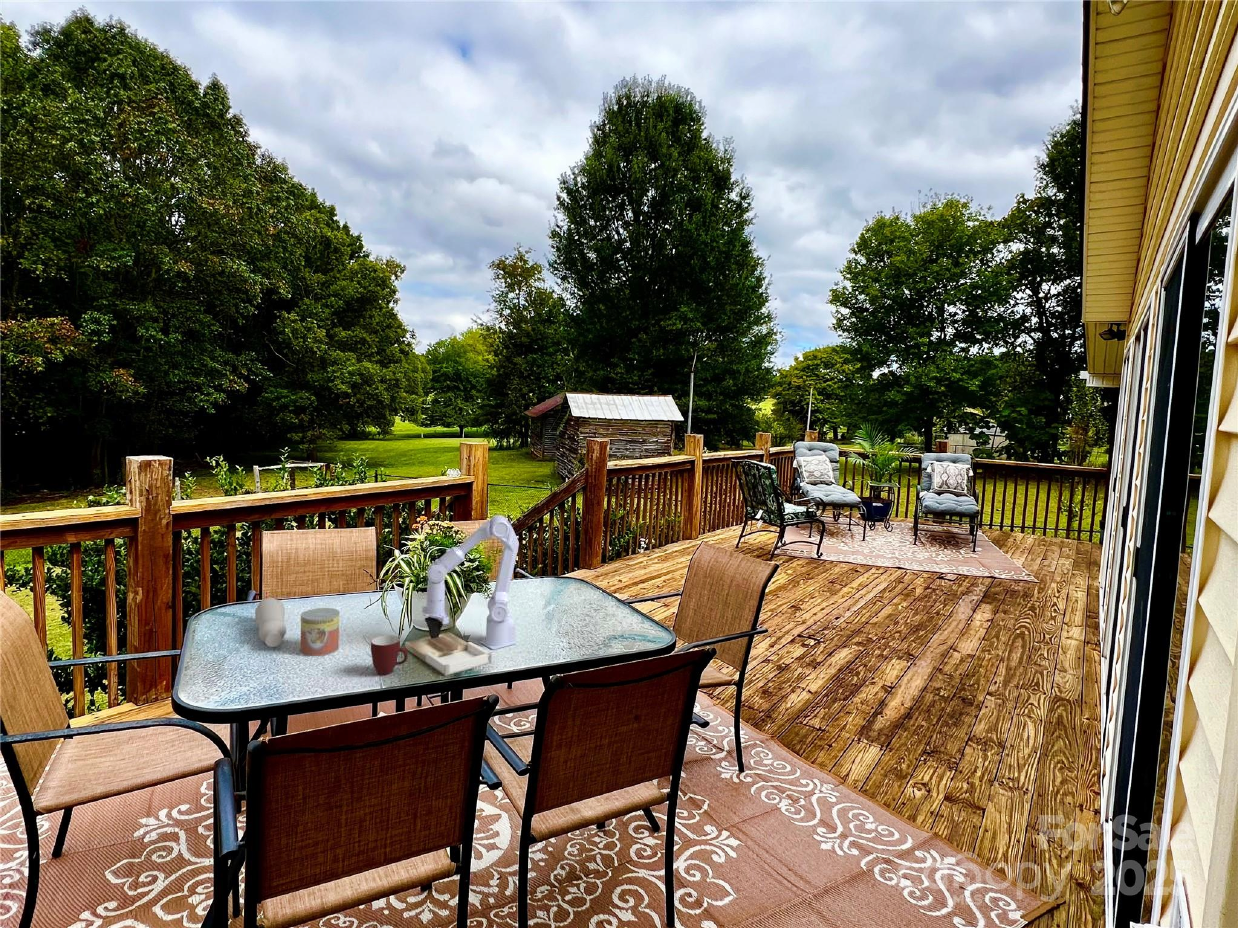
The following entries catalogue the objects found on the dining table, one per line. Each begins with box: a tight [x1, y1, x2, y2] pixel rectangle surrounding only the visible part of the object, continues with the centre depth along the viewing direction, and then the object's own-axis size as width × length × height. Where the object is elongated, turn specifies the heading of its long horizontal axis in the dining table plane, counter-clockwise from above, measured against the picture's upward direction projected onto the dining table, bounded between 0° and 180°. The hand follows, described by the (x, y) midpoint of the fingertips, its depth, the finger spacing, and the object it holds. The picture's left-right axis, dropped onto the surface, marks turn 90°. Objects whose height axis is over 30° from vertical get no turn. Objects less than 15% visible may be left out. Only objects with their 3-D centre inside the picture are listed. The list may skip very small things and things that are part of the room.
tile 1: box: [429, 636, 450, 648], centre depth 208 cm, size 5×5×2 cm
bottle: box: [254, 597, 287, 648], centre depth 212 cm, size 9×9×30 cm
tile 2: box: [436, 641, 458, 653], centre depth 204 cm, size 5×5×2 cm
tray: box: [425, 641, 492, 677], centre depth 199 cm, size 16×13×3 cm
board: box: [404, 631, 468, 663], centre depth 209 cm, size 16×14×2 cm
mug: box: [370, 634, 409, 676], centre depth 189 cm, size 10×8×10 cm
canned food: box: [299, 607, 340, 657], centre depth 202 cm, size 11×11×12 cm
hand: (434, 638), depth 210 cm, fingers closed
